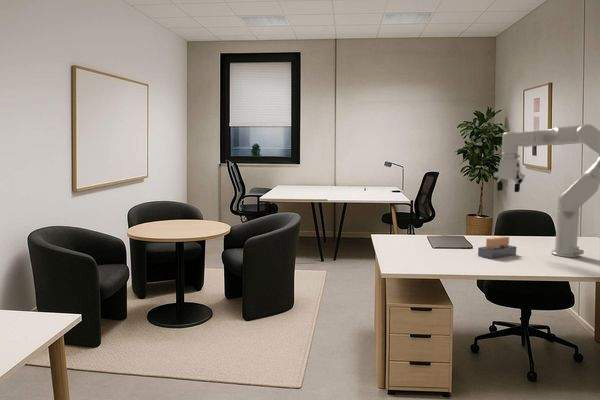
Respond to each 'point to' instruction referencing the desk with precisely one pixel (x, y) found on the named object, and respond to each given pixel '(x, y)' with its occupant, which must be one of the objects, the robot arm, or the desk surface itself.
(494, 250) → the dark gray slotted block
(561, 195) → the robot arm
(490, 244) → the tan block
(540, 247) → the desk surface
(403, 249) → the desk surface
